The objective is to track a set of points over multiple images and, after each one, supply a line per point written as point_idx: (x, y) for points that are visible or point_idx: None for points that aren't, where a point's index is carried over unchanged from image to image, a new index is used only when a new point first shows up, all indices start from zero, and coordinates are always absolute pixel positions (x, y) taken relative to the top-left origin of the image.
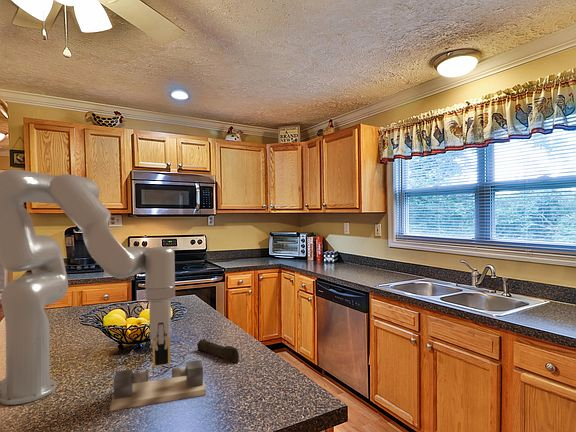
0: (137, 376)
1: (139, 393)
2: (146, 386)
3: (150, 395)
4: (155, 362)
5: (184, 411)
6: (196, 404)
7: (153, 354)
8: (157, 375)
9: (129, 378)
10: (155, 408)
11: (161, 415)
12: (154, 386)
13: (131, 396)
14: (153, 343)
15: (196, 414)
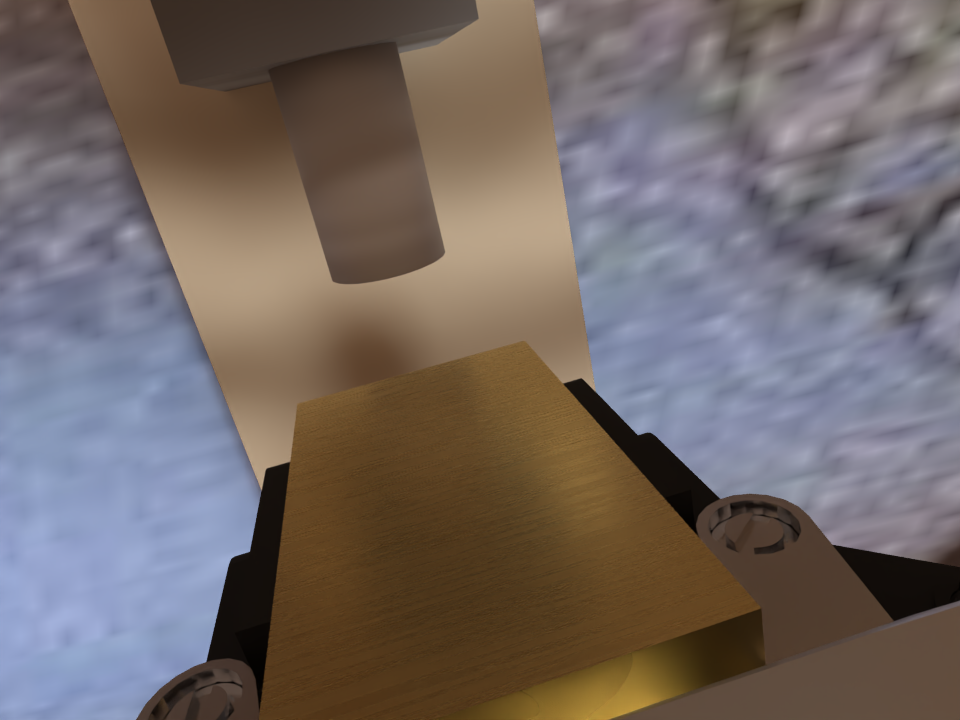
0: (303, 147)
1: (296, 165)
2: (449, 195)
3: (249, 293)
4: (265, 489)
5: (88, 591)
6: (200, 643)
7: (286, 523)
8: (762, 203)
9: (171, 58)
10: (126, 360)
11: (8, 442)
12: (440, 279)
13: (231, 93)
14: (265, 718)
15: (48, 678)
